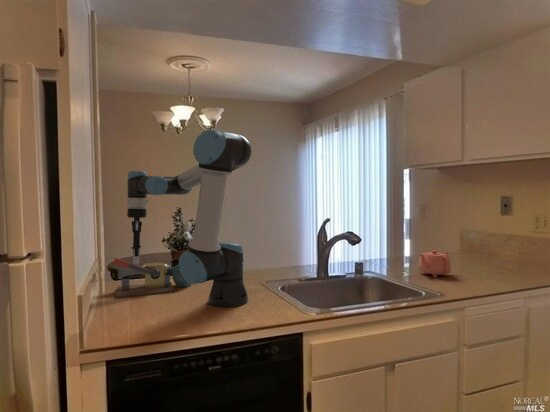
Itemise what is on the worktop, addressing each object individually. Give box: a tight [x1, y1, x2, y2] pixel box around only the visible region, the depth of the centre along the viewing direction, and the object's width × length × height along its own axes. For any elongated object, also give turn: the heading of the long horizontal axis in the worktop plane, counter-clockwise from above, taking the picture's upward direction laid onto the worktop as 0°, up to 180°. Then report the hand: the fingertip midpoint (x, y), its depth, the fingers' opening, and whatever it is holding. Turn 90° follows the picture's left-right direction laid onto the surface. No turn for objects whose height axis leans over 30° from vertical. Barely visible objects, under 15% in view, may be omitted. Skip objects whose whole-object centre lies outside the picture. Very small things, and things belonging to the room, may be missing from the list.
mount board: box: [115, 281, 175, 299], centre depth 159 cm, size 16×23×1 cm
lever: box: [112, 257, 160, 279], centre depth 153 cm, size 2×20×4 cm, turn 111°
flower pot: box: [171, 264, 192, 288], centre depth 167 cm, size 9×9×9 cm
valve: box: [117, 261, 172, 291], centre depth 160 cm, size 9×22×10 cm, turn 111°
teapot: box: [418, 249, 452, 277], centre depth 185 cm, size 15×17×13 cm
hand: (136, 263), depth 153 cm, fingers closed
